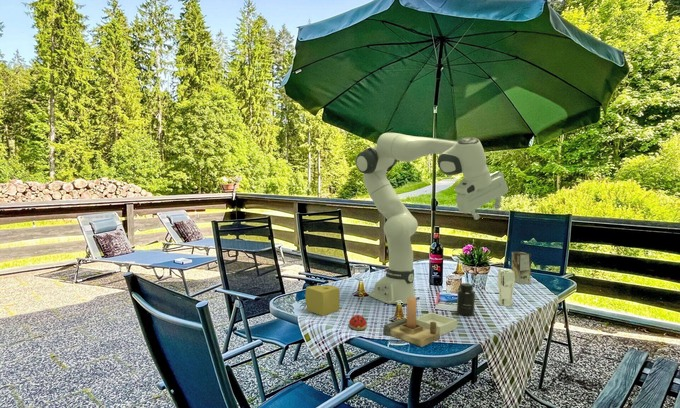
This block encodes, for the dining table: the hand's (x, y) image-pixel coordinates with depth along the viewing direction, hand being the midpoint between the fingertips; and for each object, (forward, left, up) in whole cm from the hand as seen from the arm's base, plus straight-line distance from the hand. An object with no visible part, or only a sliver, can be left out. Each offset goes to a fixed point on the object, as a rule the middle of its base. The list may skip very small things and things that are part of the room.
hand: (487, 213), depth 146 cm
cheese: (-52, -37, -42) cm, 77 cm away
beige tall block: (-6, +30, -42) cm, 52 cm away
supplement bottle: (-11, +5, -42) cm, 44 cm away
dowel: (-11, -31, -40) cm, 52 cm away
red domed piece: (-30, -39, -42) cm, 65 cm away
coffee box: (-19, +76, -42) cm, 88 cm away
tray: (-10, -18, -42) cm, 47 cm away
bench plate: (-11, -31, -42) cm, 54 cm away
